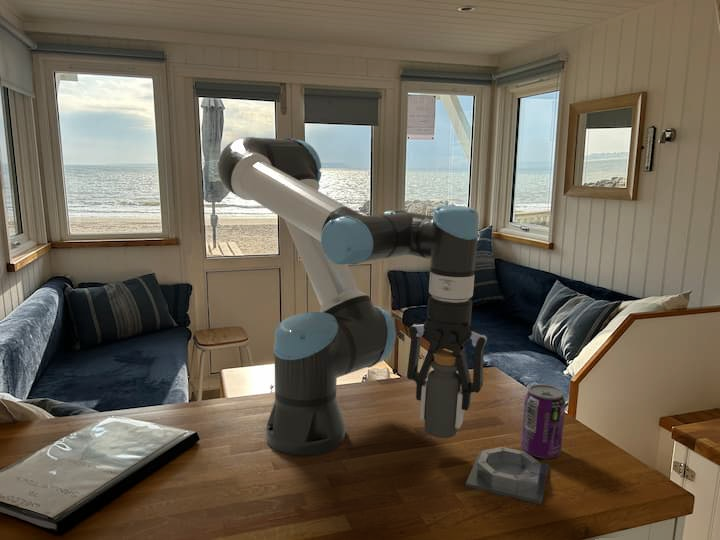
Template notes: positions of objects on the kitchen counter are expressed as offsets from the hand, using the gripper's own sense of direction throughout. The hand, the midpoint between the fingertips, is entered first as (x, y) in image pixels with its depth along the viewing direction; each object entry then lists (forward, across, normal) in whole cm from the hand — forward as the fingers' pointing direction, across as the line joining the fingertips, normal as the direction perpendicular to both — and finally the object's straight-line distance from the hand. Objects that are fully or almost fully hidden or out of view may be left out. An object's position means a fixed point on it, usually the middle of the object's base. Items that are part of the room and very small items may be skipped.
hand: (441, 420), depth 101 cm
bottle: (+2, 0, 0) cm, 2 cm away
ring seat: (+6, +13, -2) cm, 14 cm away
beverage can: (+7, +17, +9) cm, 20 cm away
